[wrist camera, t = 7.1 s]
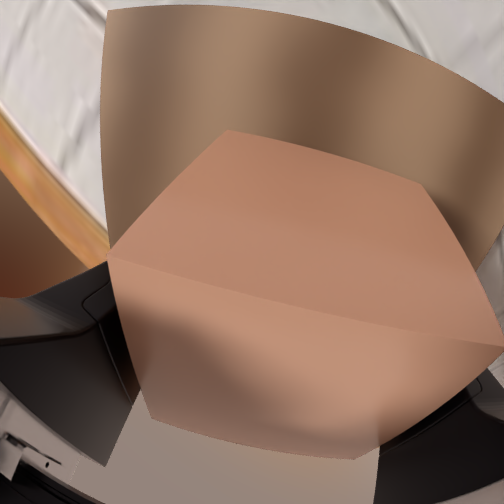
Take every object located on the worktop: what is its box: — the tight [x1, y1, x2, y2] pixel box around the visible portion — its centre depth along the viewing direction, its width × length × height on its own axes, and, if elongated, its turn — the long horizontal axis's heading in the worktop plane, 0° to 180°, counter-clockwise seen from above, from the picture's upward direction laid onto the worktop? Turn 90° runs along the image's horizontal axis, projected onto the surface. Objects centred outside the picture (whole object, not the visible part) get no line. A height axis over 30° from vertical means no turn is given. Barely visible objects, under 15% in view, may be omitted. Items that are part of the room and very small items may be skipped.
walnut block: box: [100, 5, 504, 272], centre depth 13 cm, size 18×14×3 cm
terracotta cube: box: [106, 130, 504, 460], centre depth 8 cm, size 6×6×6 cm
